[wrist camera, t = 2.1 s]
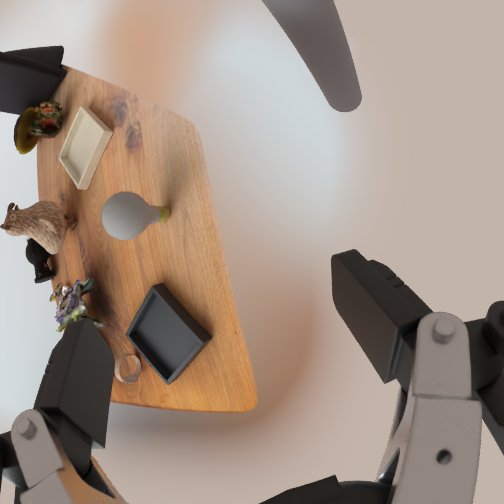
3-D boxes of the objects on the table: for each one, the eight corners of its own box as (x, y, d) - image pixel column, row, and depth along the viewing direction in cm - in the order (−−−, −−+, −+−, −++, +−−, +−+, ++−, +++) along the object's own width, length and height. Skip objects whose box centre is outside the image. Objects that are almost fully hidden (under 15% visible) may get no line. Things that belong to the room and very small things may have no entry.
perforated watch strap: (136, 372, 45) (115, 384, 40) (130, 347, 45) (108, 357, 40) (147, 376, 44) (126, 388, 39) (141, 350, 43) (119, 361, 39)
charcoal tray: (162, 282, 39) (152, 285, 38) (212, 337, 37) (203, 343, 35) (133, 330, 43) (125, 334, 42) (175, 379, 41) (167, 385, 39)
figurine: (82, 197, 46) (8, 198, 32) (84, 251, 47) (11, 262, 33) (60, 202, 50) (-5, 205, 36) (62, 250, 51) (-2, 260, 37)
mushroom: (85, 109, 54) (38, 104, 51) (61, 100, 42) (10, 97, 39) (72, 160, 57) (26, 152, 54) (46, 162, 45) (-3, 153, 42)
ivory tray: (88, 107, 44) (80, 105, 42) (113, 132, 41) (104, 130, 39) (66, 158, 48) (58, 158, 46) (87, 189, 45) (78, 189, 43)
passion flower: (113, 280, 52) (81, 258, 40) (133, 333, 48) (101, 323, 37) (69, 305, 50) (32, 289, 39) (86, 356, 46) (48, 351, 35)
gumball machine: (50, 277, 49) (38, 230, 49) (28, 286, 47) (17, 239, 47) (61, 277, 55) (50, 234, 55) (40, 285, 53) (30, 243, 53)
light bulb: (146, 206, 39) (88, 207, 30) (172, 185, 37) (113, 181, 28) (160, 242, 39) (101, 250, 30) (188, 223, 36) (128, 227, 27)
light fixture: (65, 37, 50) (-21, 11, 23) (71, 71, 46) (-40, 43, 20) (35, 85, 57) (-47, 68, 30) (37, 127, 53) (-63, 113, 26)
